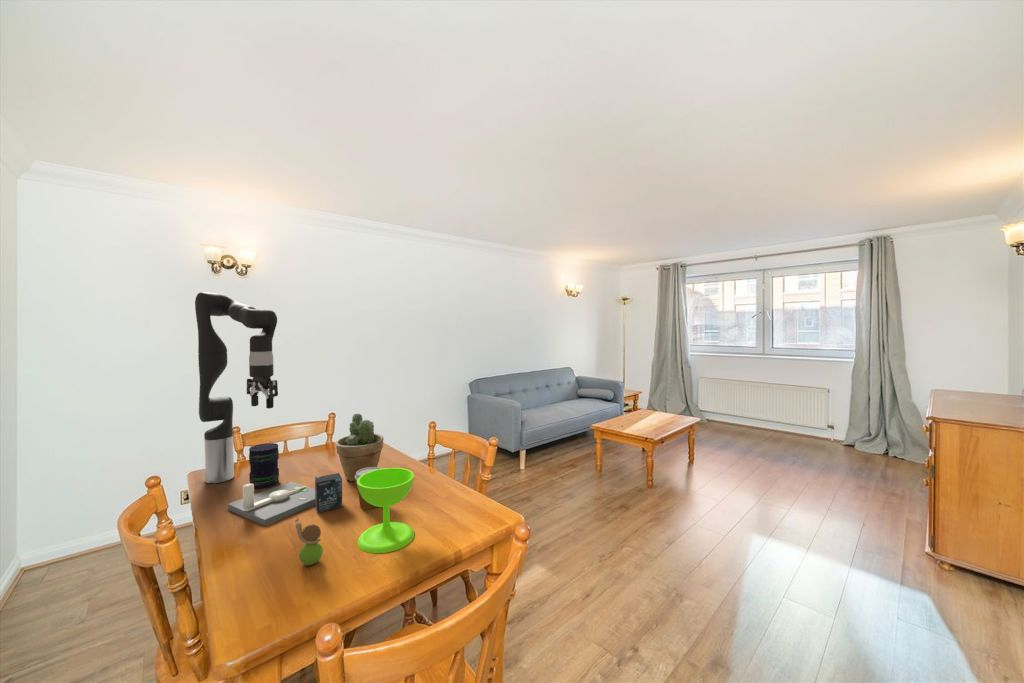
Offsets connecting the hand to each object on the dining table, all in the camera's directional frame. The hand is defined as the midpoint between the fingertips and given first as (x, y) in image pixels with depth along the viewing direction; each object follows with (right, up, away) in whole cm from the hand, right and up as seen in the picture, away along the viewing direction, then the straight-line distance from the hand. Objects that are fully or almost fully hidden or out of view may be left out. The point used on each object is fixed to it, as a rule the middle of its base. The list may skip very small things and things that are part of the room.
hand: (262, 407), depth 145 cm
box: (+30, -33, -11) cm, 46 cm away
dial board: (+12, -33, -9) cm, 35 cm away
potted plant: (+30, -32, +16) cm, 47 cm away
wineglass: (+56, -34, -30) cm, 72 cm away
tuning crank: (+12, -30, -9) cm, 33 cm away
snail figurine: (+40, -34, -43) cm, 67 cm away
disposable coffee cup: (+43, -33, -9) cm, 55 cm away
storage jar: (-4, -32, +8) cm, 33 cm away
